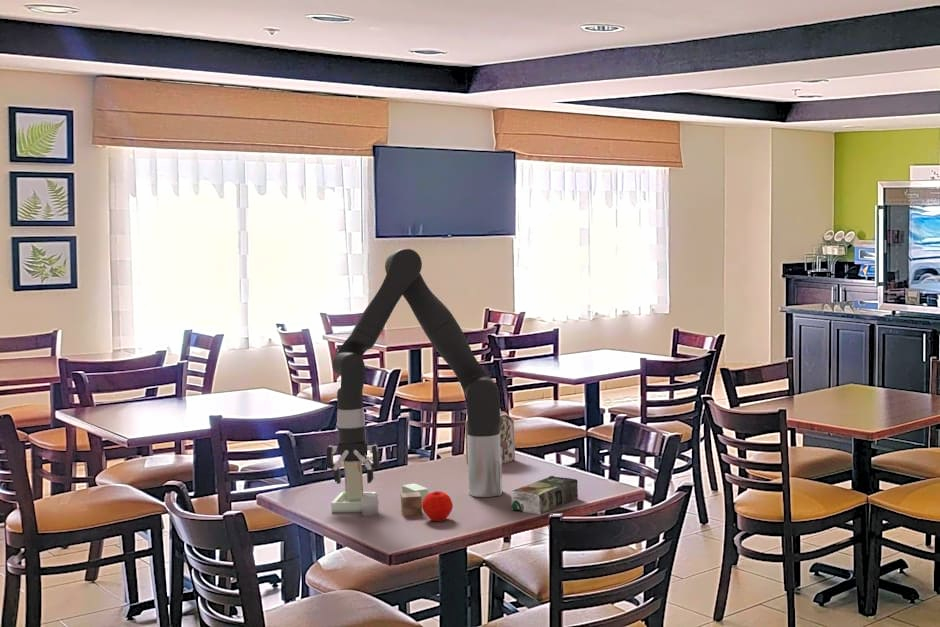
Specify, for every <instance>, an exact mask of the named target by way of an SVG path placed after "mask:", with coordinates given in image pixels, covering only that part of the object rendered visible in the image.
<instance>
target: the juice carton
mask: <svg viewBox="0 0 940 627" xmlns="http://www.w3.org/2000/svg"><path fill="white" fill-rule="evenodd" d="M510 492H511V493H510V494H511V511H521V512H523V513H527V514H528V513H530V514H535V515H541V514H544V513H547V512H549V511H551V510H553V509H556V508H559V507H561V506H564V505H567V504H568V503H569V504H570V503H571V502H574V501H576V500H578V498H579V494H578V493H579V492H578V479H576V478H575V479H574V478H570V477H559V476H554V475H550V476H548V477H545V478H544V479H540V480H538V481H535V482H532V483H530V484H527V485H524V486H522V487H518V488H517V489H513V490H511V491H510Z"/></svg>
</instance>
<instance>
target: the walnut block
mask: <svg viewBox="0 0 940 627" xmlns="http://www.w3.org/2000/svg"><path fill="white" fill-rule="evenodd" d="M400 509H401V513H402V517H407V516H418V515H419V516H420V515H422V516H423V509H422V501H421V494H420V492H409V493H402V492H401V493H400Z"/></svg>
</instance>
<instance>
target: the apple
mask: <svg viewBox="0 0 940 627" xmlns="http://www.w3.org/2000/svg"><path fill="white" fill-rule="evenodd" d="M453 506H454V505H453V501H452V499H451V497H450V495H448V494H447V493H446V492H443V491H438V490H437V491H433V492H430V493H429V492H428V494H427V495H426V496H425V498H424V500H423V502H422V512H424V514H425V515H426V516H427V518H429V520H431V521H434V522H442V521H444V520H446V519H447V518H448V516H450V514H451V512H452V511H453Z"/></svg>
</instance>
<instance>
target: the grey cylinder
mask: <svg viewBox="0 0 940 627" xmlns="http://www.w3.org/2000/svg"><path fill="white" fill-rule="evenodd" d="M361 502H362V512H361V515H362V516H363V517H374V516H378V515H379V512H380V511H379V495H378V494H377V493H376V494H364V495H362V496H361Z"/></svg>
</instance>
